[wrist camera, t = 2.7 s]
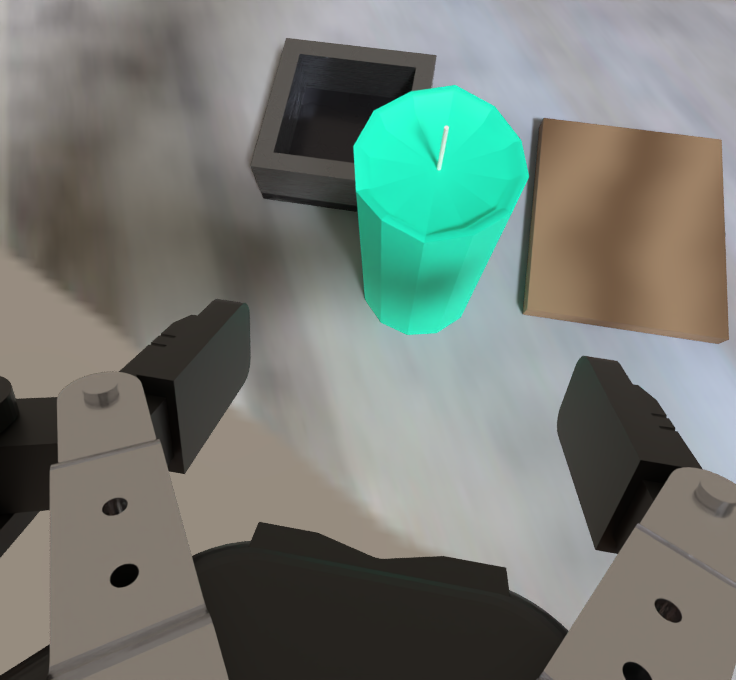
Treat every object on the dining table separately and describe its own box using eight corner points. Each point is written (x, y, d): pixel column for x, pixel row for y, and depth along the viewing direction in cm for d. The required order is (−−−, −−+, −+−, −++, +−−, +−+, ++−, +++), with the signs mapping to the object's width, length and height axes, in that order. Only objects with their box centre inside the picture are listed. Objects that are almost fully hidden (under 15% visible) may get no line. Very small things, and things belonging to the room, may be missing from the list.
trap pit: (431, 96, 30) (436, 55, 27) (410, 219, 27) (414, 188, 24) (295, 80, 30) (286, 38, 27) (263, 198, 28) (250, 166, 25)
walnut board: (712, 149, 28) (721, 139, 27) (718, 343, 25) (728, 339, 24) (539, 127, 29) (543, 117, 28) (522, 314, 25) (527, 308, 25)
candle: (374, 225, 27) (370, 38, 16) (479, 244, 27) (555, 64, 15) (351, 324, 26) (328, 195, 14) (463, 345, 25) (534, 230, 14)
